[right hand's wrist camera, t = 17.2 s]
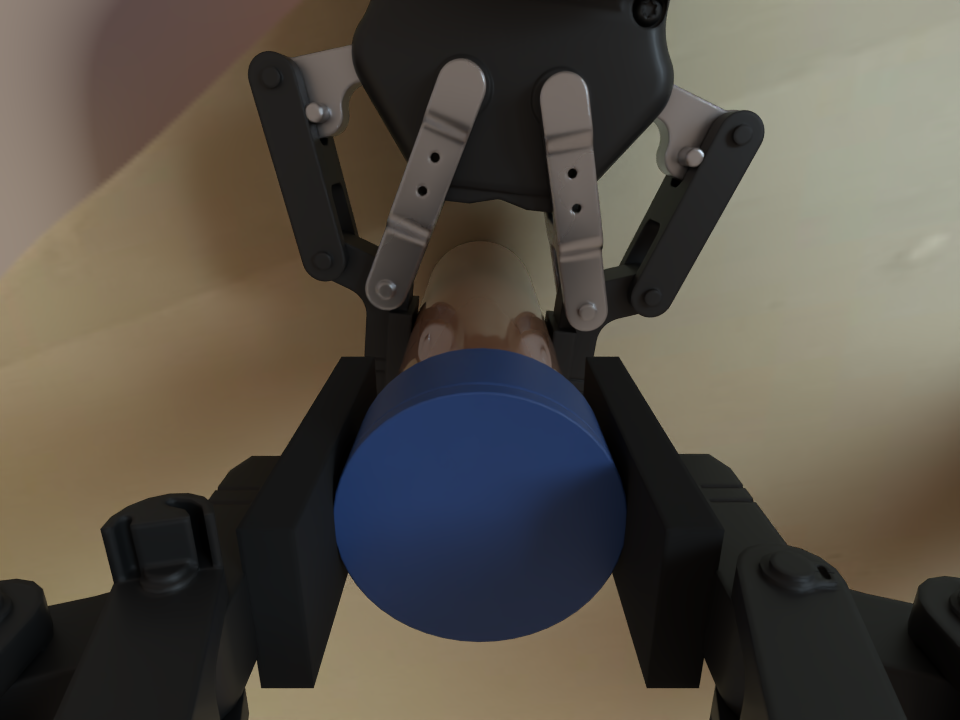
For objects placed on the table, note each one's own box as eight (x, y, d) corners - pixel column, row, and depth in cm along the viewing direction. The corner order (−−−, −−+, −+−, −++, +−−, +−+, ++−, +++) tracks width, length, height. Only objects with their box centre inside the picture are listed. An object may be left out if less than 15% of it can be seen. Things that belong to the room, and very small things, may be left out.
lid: (334, 534, 13) (307, 608, 11) (386, 316, 11) (366, 356, 9) (559, 586, 13) (572, 667, 11) (640, 384, 12) (673, 437, 10)
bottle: (457, 221, 24) (425, 351, 10) (551, 271, 25) (646, 459, 11) (410, 313, 25) (322, 544, 11) (500, 358, 26) (525, 630, 12)
